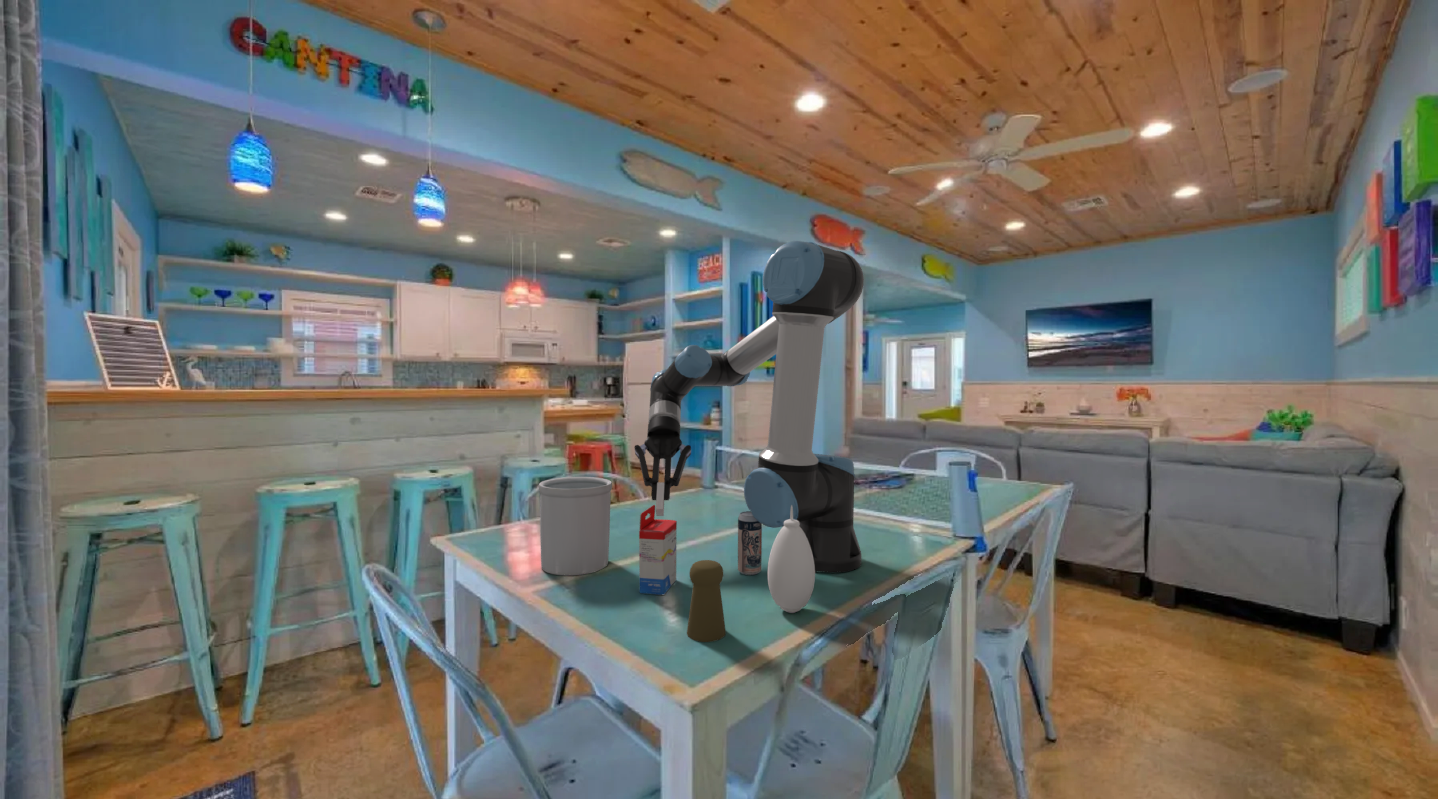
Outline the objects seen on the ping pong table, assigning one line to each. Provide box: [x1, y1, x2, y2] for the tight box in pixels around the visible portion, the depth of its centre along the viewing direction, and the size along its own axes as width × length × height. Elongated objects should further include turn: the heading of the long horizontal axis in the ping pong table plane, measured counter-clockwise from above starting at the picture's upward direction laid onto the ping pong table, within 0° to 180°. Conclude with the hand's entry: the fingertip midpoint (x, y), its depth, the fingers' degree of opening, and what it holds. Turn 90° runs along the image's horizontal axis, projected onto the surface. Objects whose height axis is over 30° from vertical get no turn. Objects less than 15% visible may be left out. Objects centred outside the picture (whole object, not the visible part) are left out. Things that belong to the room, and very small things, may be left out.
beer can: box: [737, 510, 763, 576], centre depth 112 cm, size 5×5×12 cm
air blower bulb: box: [767, 505, 816, 614], centre depth 93 cm, size 8×8×18 cm
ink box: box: [638, 504, 678, 596], centre depth 104 cm, size 8×5×15 cm, turn 168°
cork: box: [686, 559, 727, 643], centre depth 85 cm, size 6×6×11 cm
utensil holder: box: [538, 476, 613, 576], centre depth 116 cm, size 15×15×18 cm
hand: (659, 512), depth 114 cm, fingers closed
